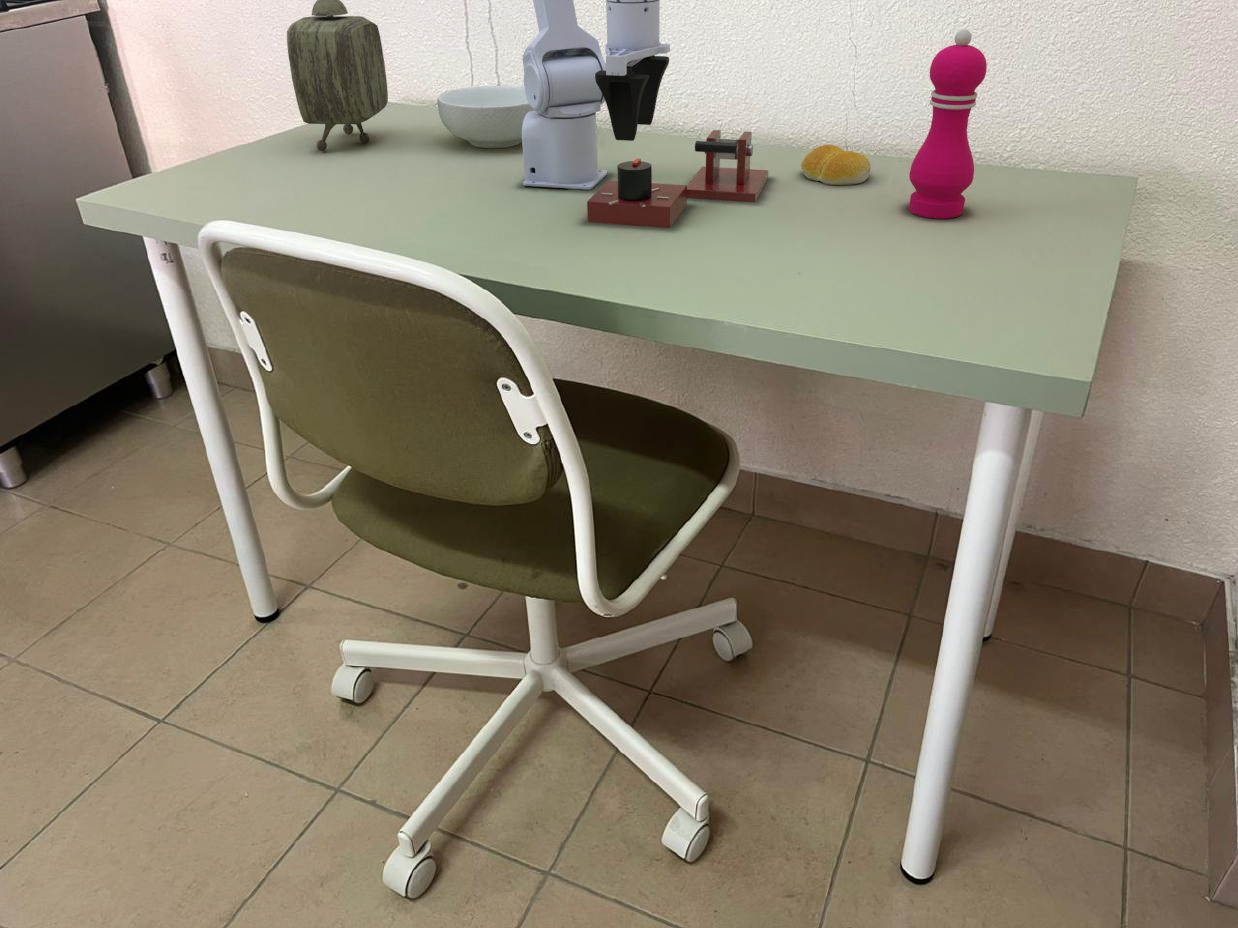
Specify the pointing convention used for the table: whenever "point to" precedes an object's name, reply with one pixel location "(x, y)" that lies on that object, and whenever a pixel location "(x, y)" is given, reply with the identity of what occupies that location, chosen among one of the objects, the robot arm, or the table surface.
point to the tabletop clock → (337, 69)
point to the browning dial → (634, 180)
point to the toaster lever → (719, 148)
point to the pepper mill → (948, 132)
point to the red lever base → (728, 175)
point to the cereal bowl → (485, 114)
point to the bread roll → (835, 166)
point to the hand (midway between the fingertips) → (634, 131)
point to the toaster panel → (638, 206)
